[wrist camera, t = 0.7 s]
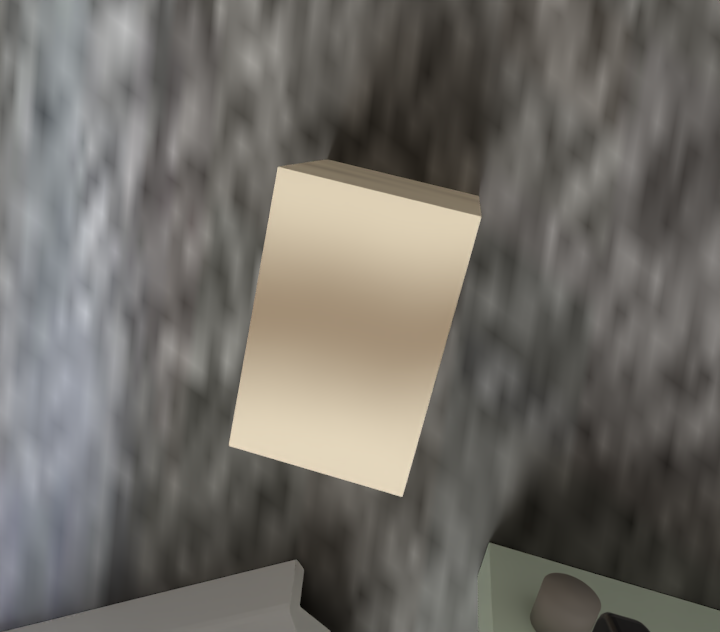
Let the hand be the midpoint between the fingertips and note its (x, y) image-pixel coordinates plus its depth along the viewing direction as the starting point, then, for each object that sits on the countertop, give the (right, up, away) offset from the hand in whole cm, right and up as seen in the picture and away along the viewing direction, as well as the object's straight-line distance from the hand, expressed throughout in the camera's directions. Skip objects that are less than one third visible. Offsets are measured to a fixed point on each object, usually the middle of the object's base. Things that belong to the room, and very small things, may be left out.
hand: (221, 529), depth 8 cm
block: (+2, +3, +12) cm, 12 cm away
